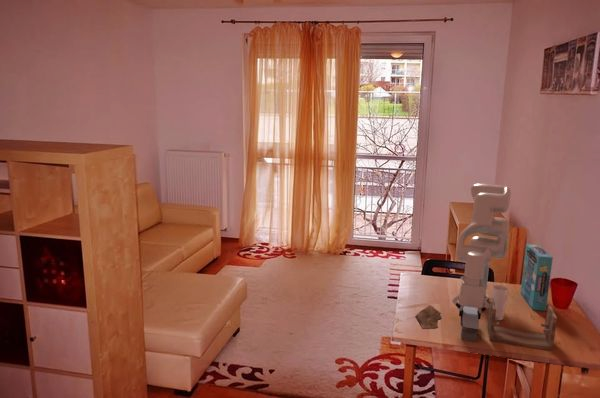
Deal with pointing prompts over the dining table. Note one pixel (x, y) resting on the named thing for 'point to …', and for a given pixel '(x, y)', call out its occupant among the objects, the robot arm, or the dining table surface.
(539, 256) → the game box
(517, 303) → the dining table surface
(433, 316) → the wooden fragment
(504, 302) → the drinking glass
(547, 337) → the shelf unit
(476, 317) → the shelf board
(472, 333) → the support blocks
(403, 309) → the dining table surface
